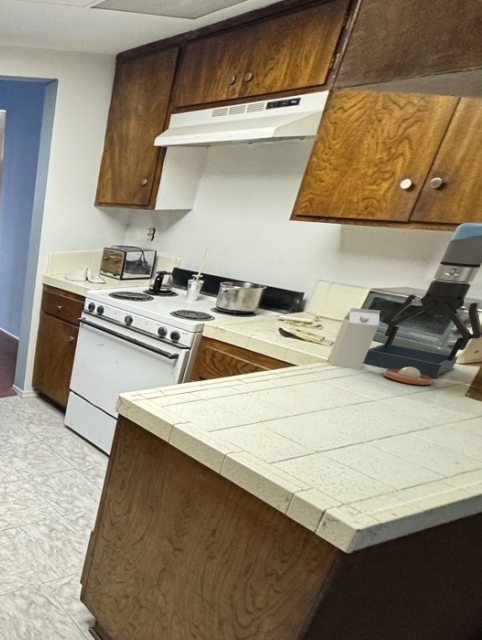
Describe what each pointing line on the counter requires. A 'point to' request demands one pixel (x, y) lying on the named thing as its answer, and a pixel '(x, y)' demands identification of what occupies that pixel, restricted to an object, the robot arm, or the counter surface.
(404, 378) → the rice plate
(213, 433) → the counter surface
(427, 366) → the dish tub
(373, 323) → the milk carton
